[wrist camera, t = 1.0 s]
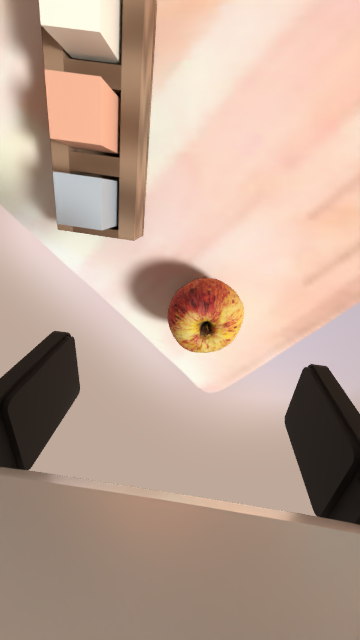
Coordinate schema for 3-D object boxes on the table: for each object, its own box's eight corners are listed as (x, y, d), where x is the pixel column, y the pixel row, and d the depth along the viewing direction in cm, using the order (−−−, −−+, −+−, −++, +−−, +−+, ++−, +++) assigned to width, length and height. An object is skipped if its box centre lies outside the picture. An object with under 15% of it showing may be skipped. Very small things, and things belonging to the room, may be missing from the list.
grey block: (77, 175, 28) (52, 171, 23) (118, 181, 27) (101, 178, 23) (79, 219, 30) (56, 223, 25) (117, 225, 29) (101, 230, 25)
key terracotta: (74, 92, 25) (44, 69, 20) (120, 98, 24) (100, 76, 20) (76, 148, 26) (49, 138, 22) (119, 154, 26) (101, 145, 22)
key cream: (69, -14, 21) (32, -70, 17) (121, -8, 21) (99, -63, 17) (72, 58, 23) (40, 24, 19) (120, 64, 23) (100, 32, 19)
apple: (216, 255, 33) (220, 275, 24) (250, 308, 36) (265, 345, 27) (161, 291, 36) (146, 322, 27) (196, 338, 39) (193, 380, 30)
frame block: (63, -9, 24) (34, -50, 20) (156, 2, 24) (146, -37, 20) (75, 225, 33) (57, 229, 29) (143, 235, 33) (134, 240, 29)
